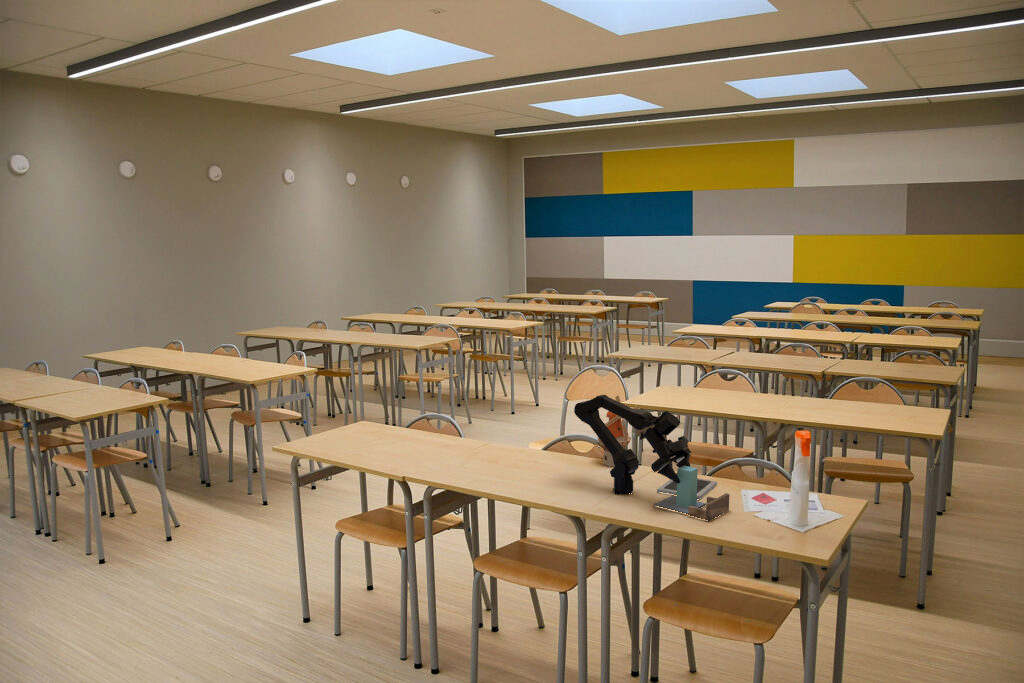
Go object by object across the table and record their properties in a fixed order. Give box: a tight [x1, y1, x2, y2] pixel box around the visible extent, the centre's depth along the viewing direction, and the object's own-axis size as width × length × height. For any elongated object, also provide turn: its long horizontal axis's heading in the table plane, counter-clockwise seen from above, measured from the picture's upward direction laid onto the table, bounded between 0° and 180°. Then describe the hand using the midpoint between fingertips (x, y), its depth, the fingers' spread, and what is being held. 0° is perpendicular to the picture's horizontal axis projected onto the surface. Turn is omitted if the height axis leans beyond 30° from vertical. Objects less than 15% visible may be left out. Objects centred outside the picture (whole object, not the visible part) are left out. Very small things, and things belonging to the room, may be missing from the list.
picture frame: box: [656, 472, 718, 500], centre depth 288 cm, size 16×3×21 cm
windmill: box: [597, 394, 640, 468], centre depth 317 cm, size 17×14×30 cm
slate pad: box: [653, 495, 707, 514], centre depth 269 cm, size 13×13×1 cm
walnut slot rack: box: [688, 492, 730, 522], centre depth 261 cm, size 8×14×6 cm, turn 139°
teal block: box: [676, 466, 699, 508], centre depth 267 cm, size 5×5×13 cm
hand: (686, 479), depth 266 cm, fingers open, 9 cm apart
